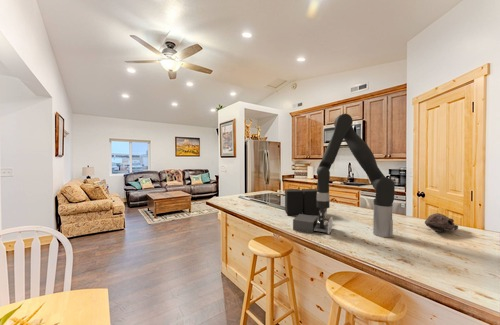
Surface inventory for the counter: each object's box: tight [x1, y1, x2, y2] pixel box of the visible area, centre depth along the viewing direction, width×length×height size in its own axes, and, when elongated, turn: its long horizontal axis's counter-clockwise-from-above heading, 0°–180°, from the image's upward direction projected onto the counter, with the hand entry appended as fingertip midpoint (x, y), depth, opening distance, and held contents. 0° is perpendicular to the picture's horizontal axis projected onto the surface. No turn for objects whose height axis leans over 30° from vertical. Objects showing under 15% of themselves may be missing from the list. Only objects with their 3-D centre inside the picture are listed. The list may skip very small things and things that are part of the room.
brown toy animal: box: [424, 212, 459, 233], centre depth 127 cm, size 25×12×10 cm, turn 121°
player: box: [292, 213, 319, 234], centre depth 136 cm, size 12×14×6 cm
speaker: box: [284, 188, 320, 216], centre depth 169 cm, size 25×11×19 cm, turn 90°
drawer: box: [314, 216, 333, 235], centre depth 131 cm, size 9×13×6 cm
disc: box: [318, 219, 328, 227], centre depth 131 cm, size 6×6×2 cm
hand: (322, 226), depth 131 cm, fingers open, 6 cm apart
